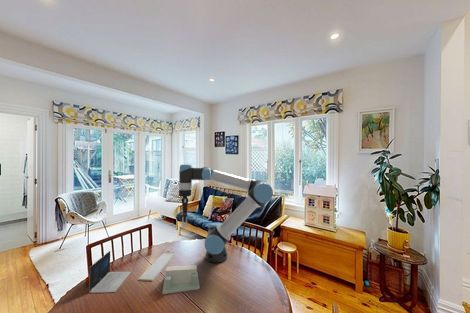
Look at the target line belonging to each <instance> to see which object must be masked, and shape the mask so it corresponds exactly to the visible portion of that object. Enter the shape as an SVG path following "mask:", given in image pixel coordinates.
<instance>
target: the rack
mask: <svg viewBox="0 0 470 313" xmlns="http://www.w3.org/2000/svg"><path fill="white" fill-rule="evenodd" d="M192 265H197V264H192ZM195 290H200V280H199V274H198V271H197V273H192V283H179V284H171V276H167V277H166V284H165V278H164V279H163V286H162V292H161V293H162V295H167V294H174V293H181V292H186V291H187V292H188V291H189V292H190V291H195Z"/></svg>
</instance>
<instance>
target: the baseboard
mask: <svg viewBox="0 0 470 313" xmlns="http://www.w3.org/2000/svg"><path fill="white" fill-rule="evenodd" d="M174 256H175V253H172V252H170V251H169V250H168V251H167V252H163V253H161V254H160V256H159V257H157V259H156V260H155V261H154V262H153V263H152V265H150V266H149V267H148V268H147V269H146V271H144V273H143V274H142V275H141V276H139V278H138V279H137V281H142V282H153V281H154V280H156V278H157V277H158V275H159V274H160V273H161V271H163V269H165V268H166V267H167V264H168V263H169V262H170V261H171V259H172V258H173V257H174Z"/></svg>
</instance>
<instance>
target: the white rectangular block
mask: <svg viewBox="0 0 470 313" xmlns="http://www.w3.org/2000/svg"><path fill="white" fill-rule="evenodd" d="M165 268H166V269H165V271H164V279H165V284H166V277H167V276H171V284H179V283H192V273H197V272H198V265H197V264H196V265H193V264H191V265H190V264H189V265H176V266H175V265H174V266H173V265H172V266H166V267H165Z"/></svg>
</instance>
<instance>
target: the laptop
mask: <svg viewBox="0 0 470 313" xmlns="http://www.w3.org/2000/svg"><path fill="white" fill-rule="evenodd" d="M131 273H132V271H111V250H109V251H108V252H106V253H105V254H104V255H103V256H102V257H100V258H99V259H97V261H95V262H94V263H93V264H92V265H91V266H89V276H88V278H89V281H88V282H89V284H88V293H89V294H106V293H115V292H116V291H117V290H118V289H119V288H120V287H121V285H122V284H123V283H124V282H125V281H126V279H127V278H128V277H129V275H130V274H131Z"/></svg>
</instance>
